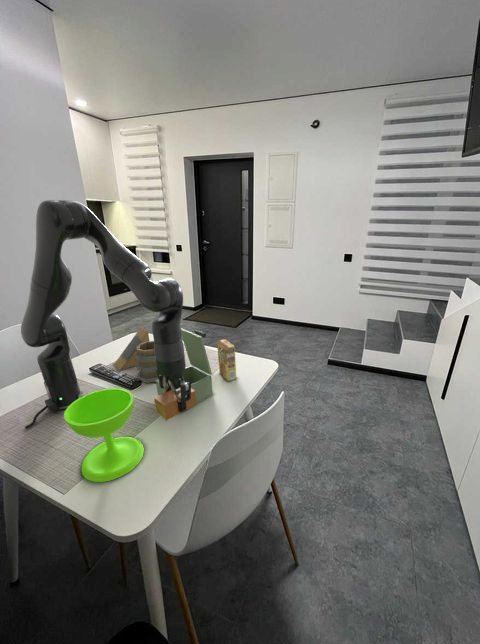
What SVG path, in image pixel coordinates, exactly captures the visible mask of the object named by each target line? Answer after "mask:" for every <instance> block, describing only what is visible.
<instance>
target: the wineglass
mask: <svg viewBox="0 0 480 644" xmlns="http://www.w3.org/2000/svg"><path fill="white" fill-rule="evenodd" d="M134 406H135V399H134V394H133V393H132V392H131V391H130V390H128V389H124V388H120V387H110V388H104V389H99V390H95V391H92V392H89V393H86V394H85V395H82V397H80V398H79V399H77V400H76V401H74V402H73V403H72V404H70V405H69V406H68V407H67V409H65V410H64V413H63V418H64V420H65V422H66V424H67V426H68V428H69V429H71V430H72V431H73V432H74V433H76V434H77V435H79V436H83V437H85V438H91V439H93V438H95V439H96V438H102V437H104V441H103V442H102V443H100V444H98V445H96V446H94V448H93V449H91V450H90V452H88V454H86V456H85V457H84V459H83V460H82V461H83V462H82V463H81V474H82V476H83V478H85V479H86V480H87V481H90V482H93V483H105V482H109V481H113V480H116V479H119V478H121V477H123V476H124V475H126V474H128V473H130V472H131V471H132V470H133V469H135V468H136V467H137V466H138V465H139V463H140V462H141V461H142V459H143V457H144V454H145V453H144V452H145V448H144V445H143V443H142V442H141V440H139V439H137V438H135V437H131V436H119V437H113V434H114V433H116V432H117V431H119V430H120V429H122V428H123V427H124V426H125V425H126V423H127V422H128V421H129V419H130V418H131V416H132V414H133V410H134Z"/></svg>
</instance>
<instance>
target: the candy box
mask: <svg viewBox="0 0 480 644" xmlns="http://www.w3.org/2000/svg"><path fill="white" fill-rule="evenodd" d="M216 345H217V357H218V370H219V373H220V374H221V376H222V377H223V378H224V379H225V380H226V381H227V382H230V381H233V380H236V379H237V366H236V365H237V364H236V346H235V345H234V344H233V343H231V341H228V340H227V339H224V338H223V339H220V340H217V341H216Z"/></svg>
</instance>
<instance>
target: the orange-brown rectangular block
mask: <svg viewBox="0 0 480 644" xmlns="http://www.w3.org/2000/svg"><path fill="white" fill-rule="evenodd" d="M180 388H181V387H180ZM180 388H178V389H176V391H178V390H180ZM179 396H180V397H181V393H180V394H179ZM153 401H154V404H155V405H154V407H155V411H156V412H155V413H156V414H157V415H159V416H160V417H161V418H163V419H164V420H165V421H166V422H167V421H169V420H171V419H174V418H175V417H177V416H178V415H180V414H181V413H180V412H179V410H178V402H177V398H176V395H174V394H173V392H172V390H170V391H168V392H165V393H163V394H161V395H159V396H158V395H156V396H155V397H154V398H153ZM197 405H198V403H196V393H195V390H194V389H192V388H191V399H190V400H188V401H186V407H187V409H186V410H185V411H183V412H182V413H184V412H186V411H188V410H189V409H191V408H193V407H195V406H197Z"/></svg>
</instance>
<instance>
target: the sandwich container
mask: <svg viewBox="0 0 480 644" xmlns="http://www.w3.org/2000/svg"><path fill="white" fill-rule="evenodd" d="M149 334H150V333H149V331H148V330H146V329H145V328H144V327H142V326H140V327H139V328H138V330H137V332H136V333H135V334H134V336H133V338H132V339H131V340H130V342H129V343H128V344H127V345H126V347H125V349H124V350H123V351H122V353H121V354H120V355H119V356H118V357H117V359H116V361H115V362H114V363H113V364H114V367H115V368H116V369H117V370H118V371H122V370H126V369H130V368H132V367H137V365H138V360H136V357H135V354H136V347H137V345H139V344H141V343H144V342H147V341H151V340H150V335H149Z"/></svg>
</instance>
